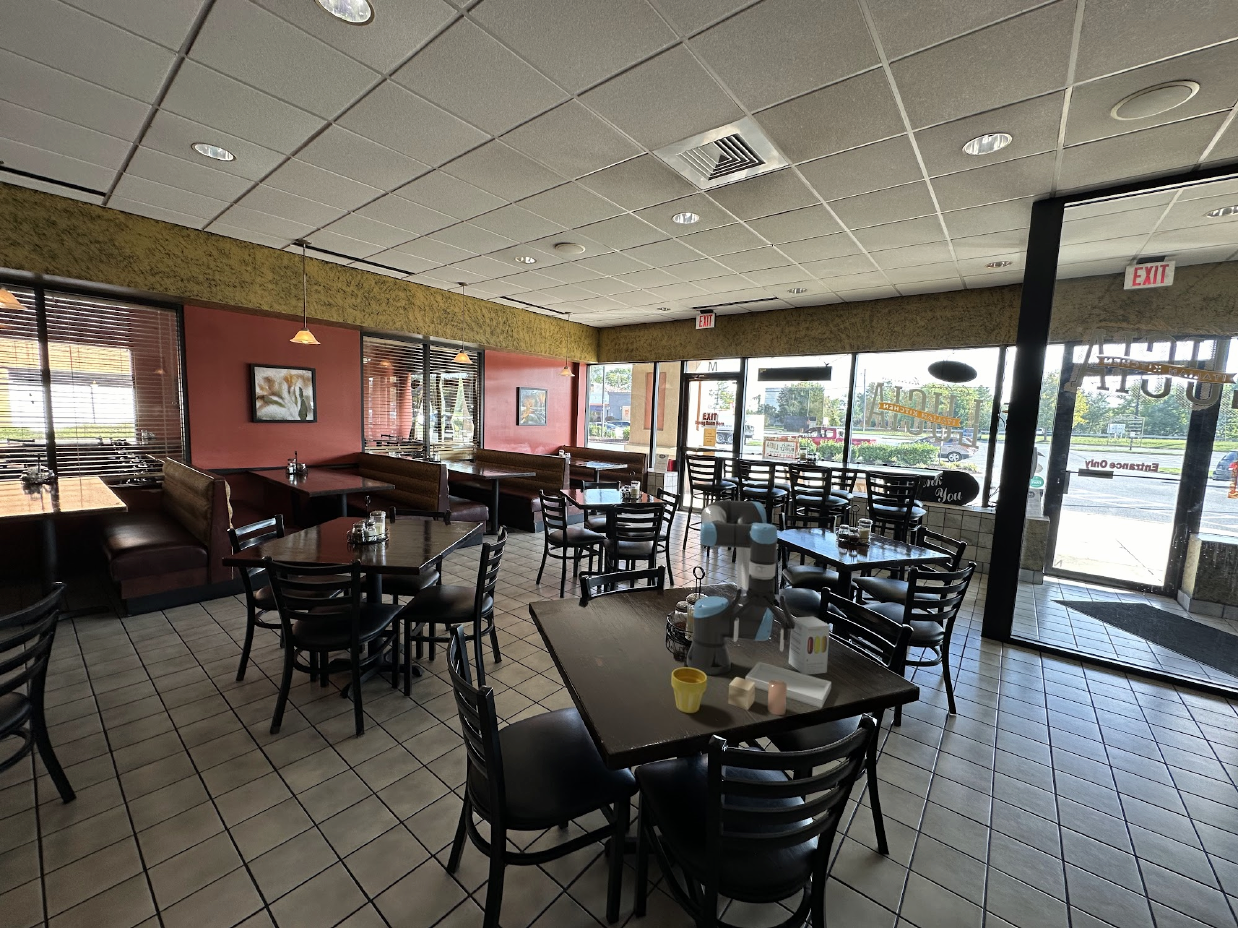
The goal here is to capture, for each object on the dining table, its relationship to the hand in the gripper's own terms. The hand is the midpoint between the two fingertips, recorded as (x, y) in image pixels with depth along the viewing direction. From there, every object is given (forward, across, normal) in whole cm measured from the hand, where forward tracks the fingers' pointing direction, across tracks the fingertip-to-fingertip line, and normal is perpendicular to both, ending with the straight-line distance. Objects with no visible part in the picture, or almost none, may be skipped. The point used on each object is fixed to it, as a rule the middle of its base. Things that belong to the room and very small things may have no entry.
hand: (758, 644), depth 153 cm
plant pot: (+18, -17, -13) cm, 28 cm away
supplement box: (+18, +12, +31) cm, 38 cm away
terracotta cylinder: (+18, +6, -2) cm, 19 cm away
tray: (+18, +8, +14) cm, 24 cm away
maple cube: (+18, -4, -3) cm, 18 cm away
